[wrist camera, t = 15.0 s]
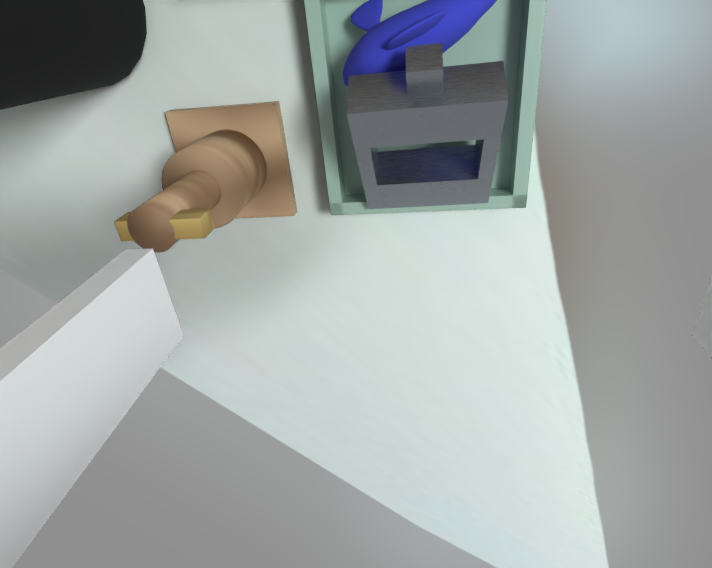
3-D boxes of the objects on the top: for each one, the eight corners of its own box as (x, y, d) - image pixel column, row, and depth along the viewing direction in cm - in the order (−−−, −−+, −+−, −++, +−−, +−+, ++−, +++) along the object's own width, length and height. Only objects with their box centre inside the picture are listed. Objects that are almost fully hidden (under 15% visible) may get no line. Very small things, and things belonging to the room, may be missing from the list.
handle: (170, 109, 36) (47, 155, 24) (279, 101, 35) (204, 145, 23) (200, 215, 41) (108, 298, 29) (297, 211, 39) (242, 296, 27)
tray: (309, -21, 31) (301, -24, 29) (542, -49, 28) (552, -55, 26) (335, 204, 39) (330, 215, 36) (519, 196, 36) (525, 207, 34)
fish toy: (375, 134, 34) (357, 139, 28) (327, 34, 32) (296, 15, 26) (583, 19, 29) (618, -6, 23) (539, -107, 27) (563, -171, 21)
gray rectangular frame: (369, 177, 36) (368, 209, 35) (344, 53, 26) (341, 92, 25) (485, 170, 35) (488, 202, 34) (507, 35, 25) (513, 76, 23)
